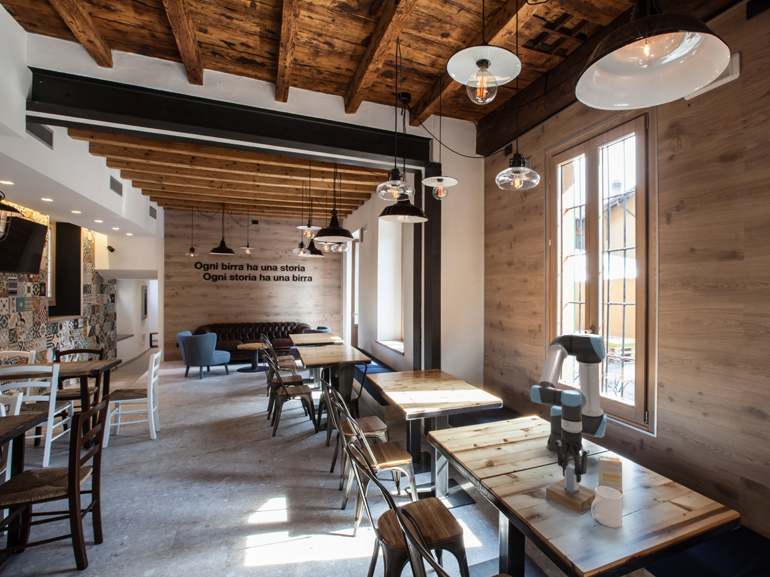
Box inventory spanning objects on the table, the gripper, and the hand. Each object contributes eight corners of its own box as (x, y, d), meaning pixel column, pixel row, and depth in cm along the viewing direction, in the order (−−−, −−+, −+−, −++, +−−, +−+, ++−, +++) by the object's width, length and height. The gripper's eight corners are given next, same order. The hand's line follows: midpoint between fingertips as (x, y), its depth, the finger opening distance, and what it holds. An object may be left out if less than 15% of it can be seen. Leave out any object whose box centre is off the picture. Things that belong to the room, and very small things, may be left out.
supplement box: (619, 488, 159) (619, 457, 159) (622, 493, 155) (622, 462, 155) (597, 484, 162) (597, 454, 162) (600, 490, 157) (600, 459, 157)
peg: (570, 493, 152) (569, 464, 152) (577, 496, 149) (577, 466, 149) (566, 495, 150) (566, 466, 150) (573, 498, 148) (573, 468, 148)
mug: (582, 517, 138) (582, 488, 138) (608, 512, 141) (608, 484, 141) (600, 531, 130) (600, 501, 130) (628, 526, 133) (627, 496, 133)
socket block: (564, 487, 159) (564, 478, 159) (598, 502, 148) (598, 492, 148) (546, 497, 151) (546, 487, 151) (580, 514, 140) (580, 503, 140)
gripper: (548, 425, 155) (548, 481, 154) (587, 438, 141) (587, 499, 141) (557, 422, 159) (557, 476, 158) (596, 433, 146) (596, 493, 145)
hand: (571, 487), depth 150 cm, fingers closed on peg, 3 cm apart
